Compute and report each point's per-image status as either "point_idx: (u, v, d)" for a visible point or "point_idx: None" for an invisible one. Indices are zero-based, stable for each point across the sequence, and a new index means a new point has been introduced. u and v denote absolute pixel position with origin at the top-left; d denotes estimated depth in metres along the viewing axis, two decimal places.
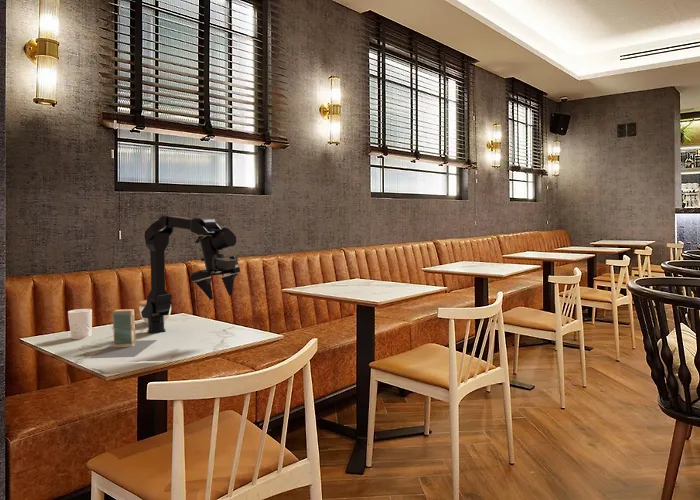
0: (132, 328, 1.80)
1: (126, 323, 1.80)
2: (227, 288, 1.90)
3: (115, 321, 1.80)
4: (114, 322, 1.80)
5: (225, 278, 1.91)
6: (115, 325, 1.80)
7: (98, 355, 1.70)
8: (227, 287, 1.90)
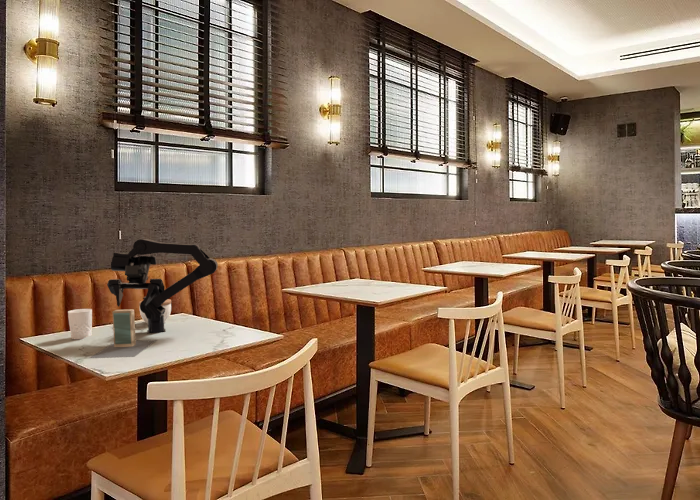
0: (132, 328, 1.80)
1: (126, 323, 1.80)
2: None
3: (115, 321, 1.80)
4: (114, 322, 1.80)
5: None
6: (115, 325, 1.80)
7: (98, 355, 1.70)
8: None
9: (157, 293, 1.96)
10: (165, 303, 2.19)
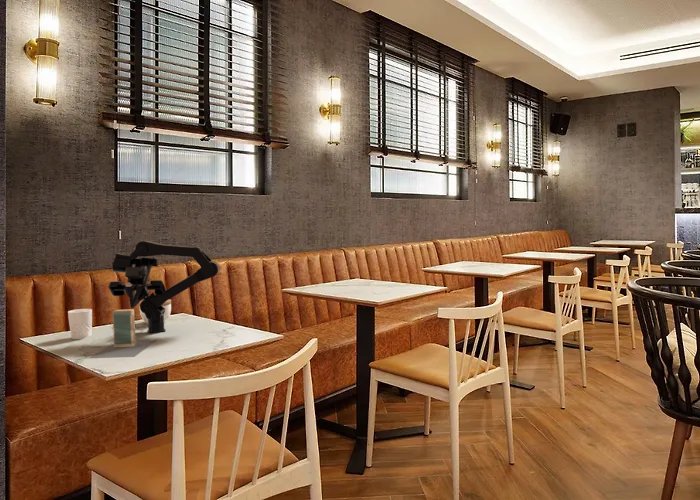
0: (132, 328, 1.80)
1: (126, 323, 1.80)
2: None
3: (115, 321, 1.80)
4: (114, 322, 1.80)
5: None
6: (115, 325, 1.80)
7: (98, 355, 1.70)
8: None
9: (146, 295, 1.95)
10: (165, 303, 2.19)
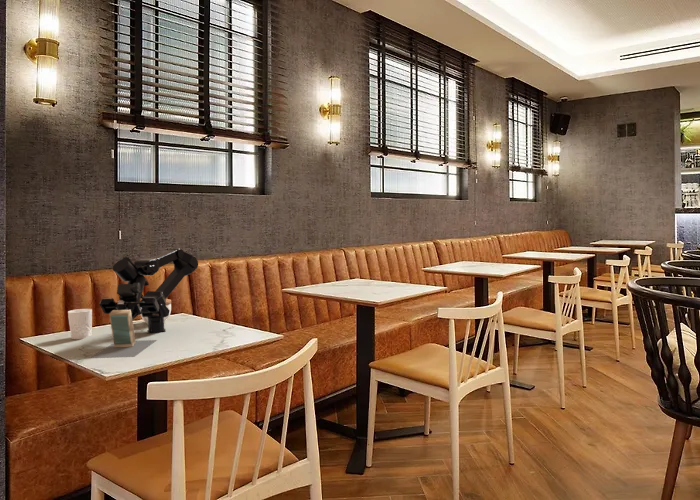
0: (130, 329, 1.79)
1: (124, 325, 1.78)
2: None
3: (113, 322, 1.78)
4: (112, 323, 1.78)
5: None
6: (113, 327, 1.78)
7: (98, 355, 1.70)
8: None
9: (138, 313, 1.87)
10: None
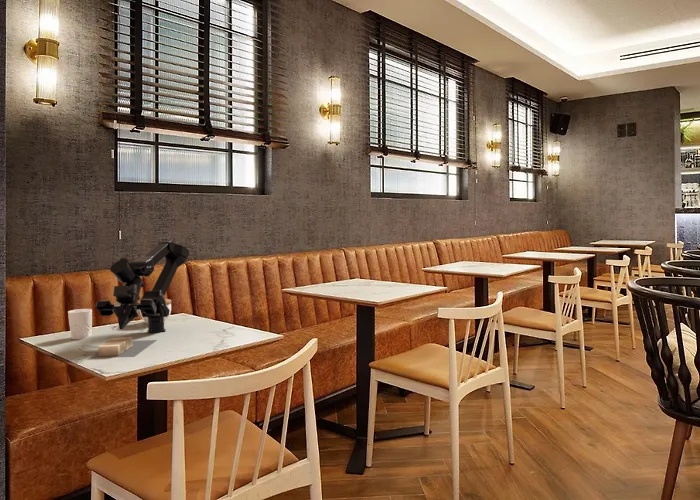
0: (125, 349, 1.74)
1: None
2: None
3: None
4: None
5: None
6: None
7: (98, 355, 1.70)
8: None
9: (135, 315, 1.84)
10: None
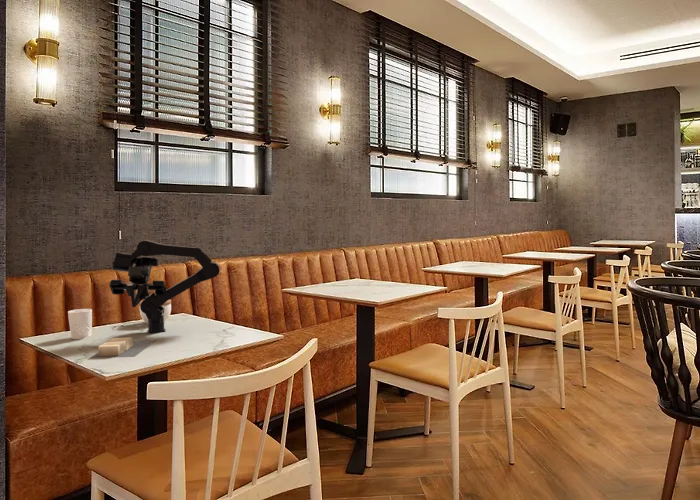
0: (125, 349, 1.74)
1: None
2: None
3: None
4: None
5: None
6: None
7: (98, 355, 1.70)
8: None
9: (146, 295, 1.95)
10: (165, 303, 2.19)
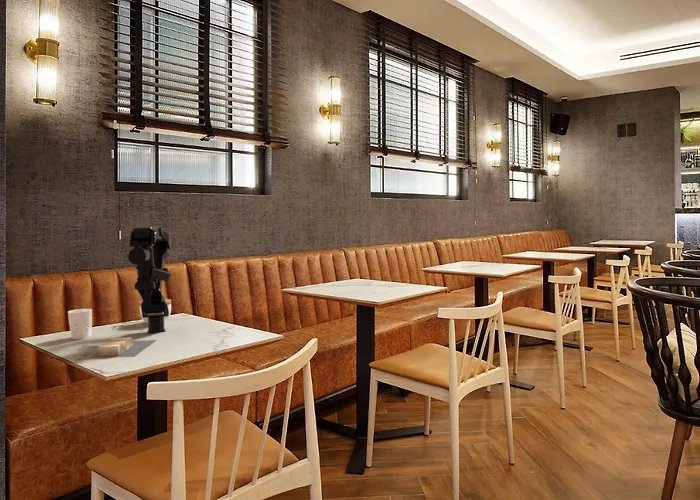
0: (125, 349, 1.74)
1: None
2: None
3: None
4: None
5: None
6: None
7: (98, 355, 1.70)
8: None
9: None
10: None
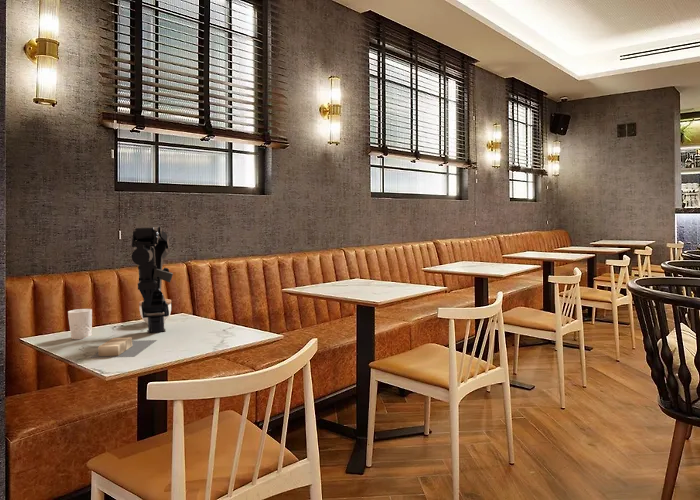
0: (125, 349, 1.74)
1: None
2: None
3: None
4: None
5: None
6: None
7: (98, 355, 1.70)
8: None
9: None
10: None
